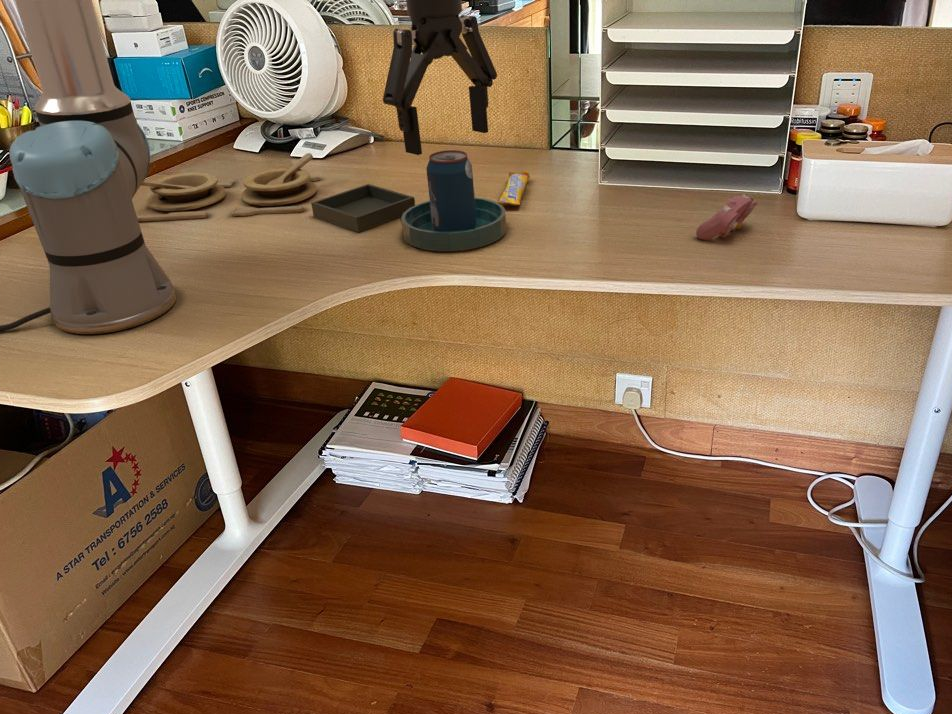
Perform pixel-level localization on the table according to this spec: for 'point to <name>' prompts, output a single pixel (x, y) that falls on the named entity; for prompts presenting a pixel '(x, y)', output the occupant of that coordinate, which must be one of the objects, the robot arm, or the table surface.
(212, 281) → the table surface
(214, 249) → the table surface
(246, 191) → the tableware set
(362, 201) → the tray
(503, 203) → the candy bar
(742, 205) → the mauve toy shoe
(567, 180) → the table surface
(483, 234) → the teal round dish
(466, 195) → the soda can
